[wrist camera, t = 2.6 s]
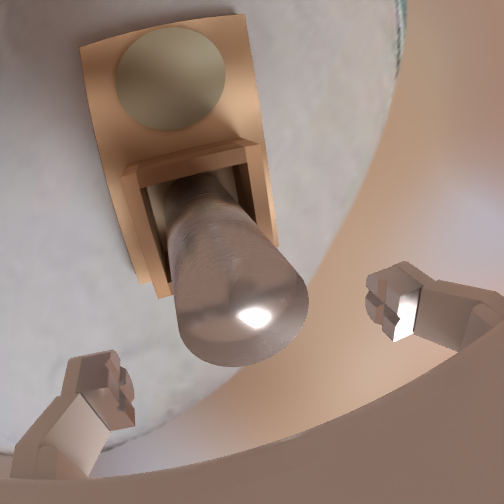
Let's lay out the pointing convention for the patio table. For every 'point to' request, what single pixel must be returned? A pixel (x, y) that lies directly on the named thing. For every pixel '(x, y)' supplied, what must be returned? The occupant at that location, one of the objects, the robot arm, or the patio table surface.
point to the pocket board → (176, 127)
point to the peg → (228, 277)
